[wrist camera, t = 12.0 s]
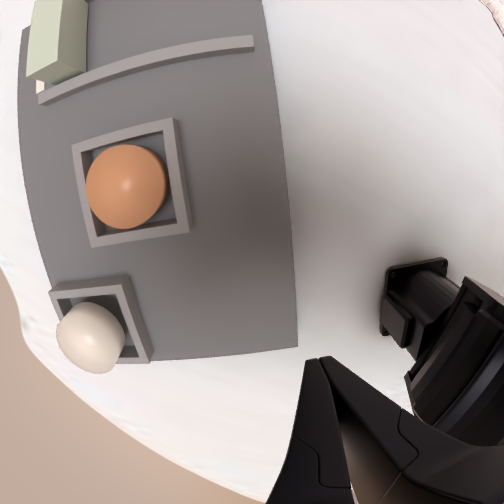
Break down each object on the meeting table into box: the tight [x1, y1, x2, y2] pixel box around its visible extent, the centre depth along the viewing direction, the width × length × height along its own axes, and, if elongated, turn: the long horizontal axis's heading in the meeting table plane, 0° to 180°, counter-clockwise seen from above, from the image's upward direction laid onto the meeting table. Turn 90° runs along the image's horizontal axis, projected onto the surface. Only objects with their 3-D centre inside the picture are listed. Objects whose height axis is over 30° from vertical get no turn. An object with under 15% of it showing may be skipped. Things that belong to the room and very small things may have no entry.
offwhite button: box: [56, 302, 125, 374], centre depth 16 cm, size 5×5×2 cm
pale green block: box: [26, 0, 89, 85], centre depth 10 cm, size 2×6×4 cm, turn 7°
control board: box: [18, 0, 298, 364], centre depth 16 cm, size 18×28×4 cm, turn 7°
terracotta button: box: [86, 145, 170, 229], centre depth 15 cm, size 5×5×2 cm
